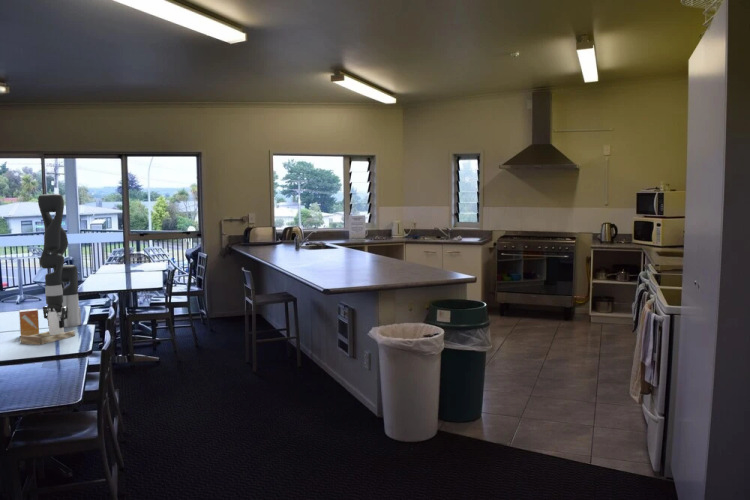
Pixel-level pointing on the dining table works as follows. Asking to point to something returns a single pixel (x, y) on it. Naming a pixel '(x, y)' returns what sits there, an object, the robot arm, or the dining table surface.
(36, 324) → the small box
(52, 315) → the white carton
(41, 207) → the robot arm
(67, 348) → the dining table surface
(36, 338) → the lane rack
